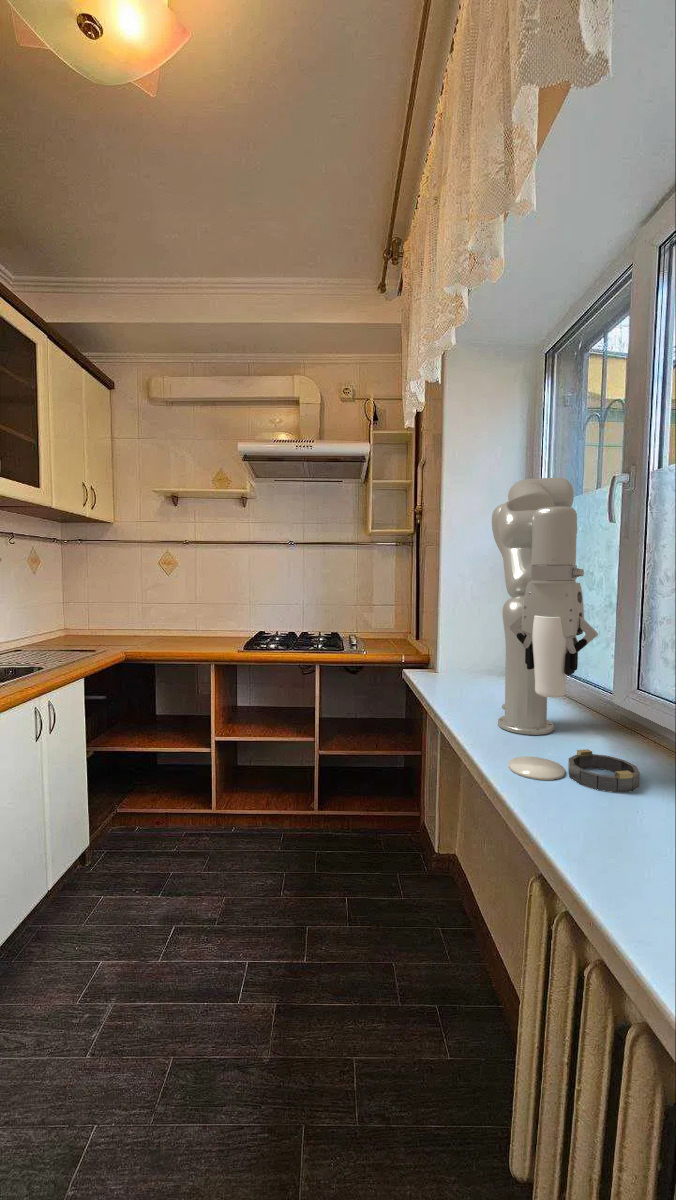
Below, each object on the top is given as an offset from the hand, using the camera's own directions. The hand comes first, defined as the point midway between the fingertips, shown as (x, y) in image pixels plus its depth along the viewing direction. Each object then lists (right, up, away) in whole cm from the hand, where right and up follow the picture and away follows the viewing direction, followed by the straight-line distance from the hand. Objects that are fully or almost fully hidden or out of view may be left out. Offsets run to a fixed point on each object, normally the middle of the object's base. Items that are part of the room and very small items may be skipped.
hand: (550, 670), depth 94 cm
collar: (+8, -19, -3) cm, 21 cm away
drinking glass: (0, -5, 0) cm, 5 cm away
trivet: (-2, -19, +2) cm, 19 cm away
